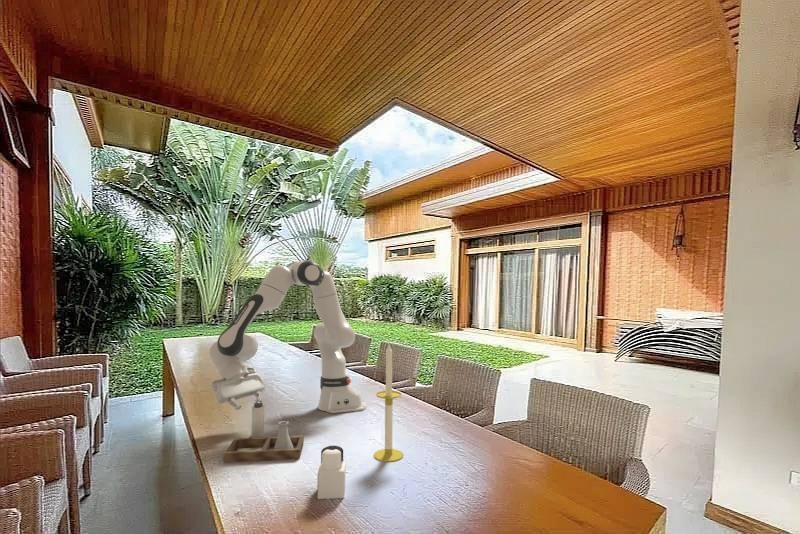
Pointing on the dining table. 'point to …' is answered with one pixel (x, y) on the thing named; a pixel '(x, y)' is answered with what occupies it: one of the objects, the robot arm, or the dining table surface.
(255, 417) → the white capped tube
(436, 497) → the dining table surface
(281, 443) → the flask
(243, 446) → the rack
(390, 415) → the candle
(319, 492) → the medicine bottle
